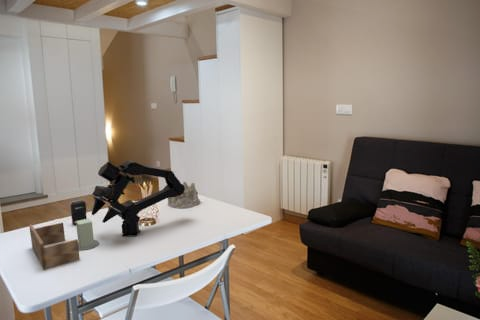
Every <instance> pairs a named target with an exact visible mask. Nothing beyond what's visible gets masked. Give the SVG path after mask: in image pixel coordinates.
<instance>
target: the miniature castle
mask: <svg viewBox="0 0 480 320" xmlns="http://www.w3.org/2000/svg"><path fill="white" fill-rule="evenodd" d="M182 184H183V185H184V187H185V190H184V193H183V194H182V195H180V196H176V197H170V198H167V206H169V207H170V208H173V209H177V210H179V209H180V210H182V209H183V210H185V209H186V210H187V209H192V208H194V207H196V206H199V205H200V204H201V200H200V198H199V195H198V194H199V193H198V191H197V189H196V185H195V183H194V182H191V183H190V185H188V184H187V181H183V183H182Z"/></svg>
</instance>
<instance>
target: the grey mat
mask: <svg viewBox="0 0 480 320" xmlns="http://www.w3.org/2000/svg"><path fill="white" fill-rule="evenodd" d="M99 245H100V241H99V240H98V239H94V245H90V246H87V247H83V248H81V246H80V245H79V244H78V248H79V251H88V250H92V249H95V248H96V247H98V246H99Z"/></svg>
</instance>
